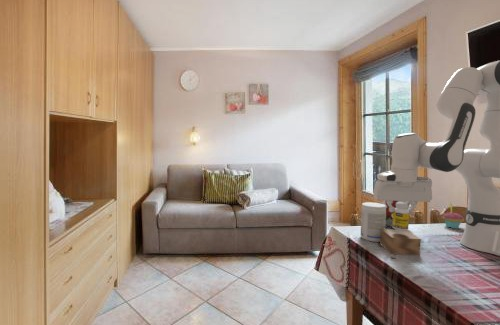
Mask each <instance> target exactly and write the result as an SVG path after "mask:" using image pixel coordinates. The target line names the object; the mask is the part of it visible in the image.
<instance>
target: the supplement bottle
mask: <svg viewBox="0 0 500 325" xmlns="http://www.w3.org/2000/svg"><path fill="white" fill-rule="evenodd" d="M407 208H408V204H406V203H401V202H397V203H396V208H395V212H393V222H392V227H393V228H394V229H393V230H396V229H397V230H403V231H406V230H407V231H409V222H410V213H409V210H407Z"/></svg>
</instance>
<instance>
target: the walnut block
mask: <svg viewBox="0 0 500 325" xmlns="http://www.w3.org/2000/svg"><path fill="white" fill-rule="evenodd" d="M421 242H422V239H421V237H419V236H417V235H415V234H414V233H413V232H411V231H409V230H406V231H403V230H396V229H390V228H389V229H386V228H385V229H381V242H380V245H381V246H382V247H383V248H385V250H386V251H388V252H389V254H392V255H406V256H407V255H408V256H409V255H412V256H420V255H421V245H422V244H421Z"/></svg>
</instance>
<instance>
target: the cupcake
mask: <svg viewBox="0 0 500 325" xmlns="http://www.w3.org/2000/svg"><path fill="white" fill-rule="evenodd" d="M442 219H443V221H444V223H445V226H446V227H447V228H449V227H451V228H450V229H459V227H460V225H461V224H462V223H463V222H464V223H465V217H464V216H462V215H461V214H460V213H456V212H453V204H452V203H450V211H449V212H446V213H443V214H442Z"/></svg>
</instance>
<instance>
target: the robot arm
mask: <svg viewBox="0 0 500 325" xmlns="http://www.w3.org/2000/svg"><path fill="white" fill-rule="evenodd" d="M485 94H486V98H487V101H486V103H485V106H484V108H483V110H484V111H483V114H482V118H481V122H480V125H479V129H478V130H479V134H480V135H481V136H482V137H483V138H484V139H486V140H488V141H490V142H489V144H490V147H489V148H475V147H474V148H472V147H471V148H467V149H466V145H467V141H468V138H469V136H470V133H471V131H472V128H473V126H474V121H475V117H476V108H475V106H474V102H475V101H476V99H477V97H478V96H479V95H485ZM436 107H437V111H438V112H440V113H441V114H442V115H443V116H444V117H446V118H448V119H450V120H452V121H451V124H450V127H449V130H448V133H447V136H446V138H445V139H444V140H443V141H441V142H428V141H426V140H424V139H423V138H421V137H420V136H419V134H418V133H415V132H408V133H405V132H404V133H401V134H397V135H396V136H395V137H394V138H393V142H392V147H391V148H392V149H391V160H392V162H391V166H390V170H387V171H383V172H379V173H377V174H376V178H377V180H376V181H375V183H374V187H373V192H372V193H373V194H372V195H373V198H374V199H375V200H377V201H383V200H387V201H386V202H387V204H388V206H389V212H395V208H394V207H392V205H391V203H393V201H410V203H411V204H410V206H409V208H407V209H408V210H409V214H414V211H415V208H416V207H417V205H418V202H419V203H420V202H423V203H430V202H431V201H432V200H433V191H432V190H433V189H432V187H433V181H432V179H431V178H429V177H428V176H418V172H419V170H418V169H419V168H425V169H430V170H435V171H437V170H438V171H441V172H445V173H450V172H453V171H457V172H458V173H459V174H460V175H461V176H462V178H463V179H464V181H465V184H466V187H467V192H468V193H467V195H468V196H467V197H468V200H467V209H465V227H464V230H463V234H462V237H461V238H460V241H459V243H460V244H461V245H463V246H464V247H467V248H468V249H469V248H470V249H472V250H475V251H479V252H484V253H488V254H492V255H495V256H498V257H500V188H499V187H497V185H496V184H495V183H494V181H493V179H492V178H496V179H500V60H499V59H498V60H497V61H496V60H495V61H492V62H488V63H486V64H484V65H481V66H479V67H477V68H476V67H472V66H471V67H470V66H467V67H462V68H460V69H458V70H455V72H454V73H453V75H452V76H451V77H450V79H449V80H448V81H447V82H446V84H445V86H444V87H443V89H442V91H441V92H440V94H439V96H438V98H437V101H436ZM418 167H419V168H418Z"/></svg>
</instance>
